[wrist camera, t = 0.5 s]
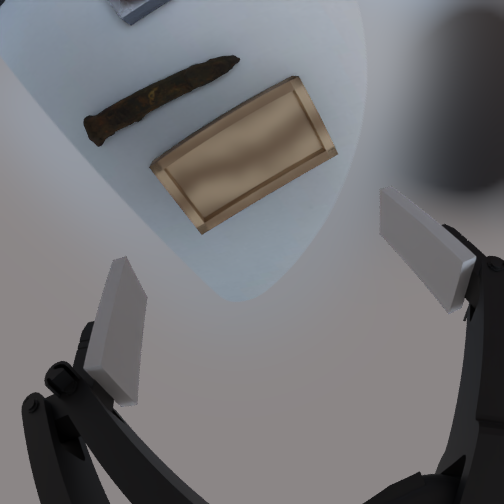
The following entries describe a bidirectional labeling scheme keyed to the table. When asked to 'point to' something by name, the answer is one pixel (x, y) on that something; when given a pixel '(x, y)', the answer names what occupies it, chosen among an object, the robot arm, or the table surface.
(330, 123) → the table surface
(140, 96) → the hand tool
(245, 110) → the tray
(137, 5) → the socket block
